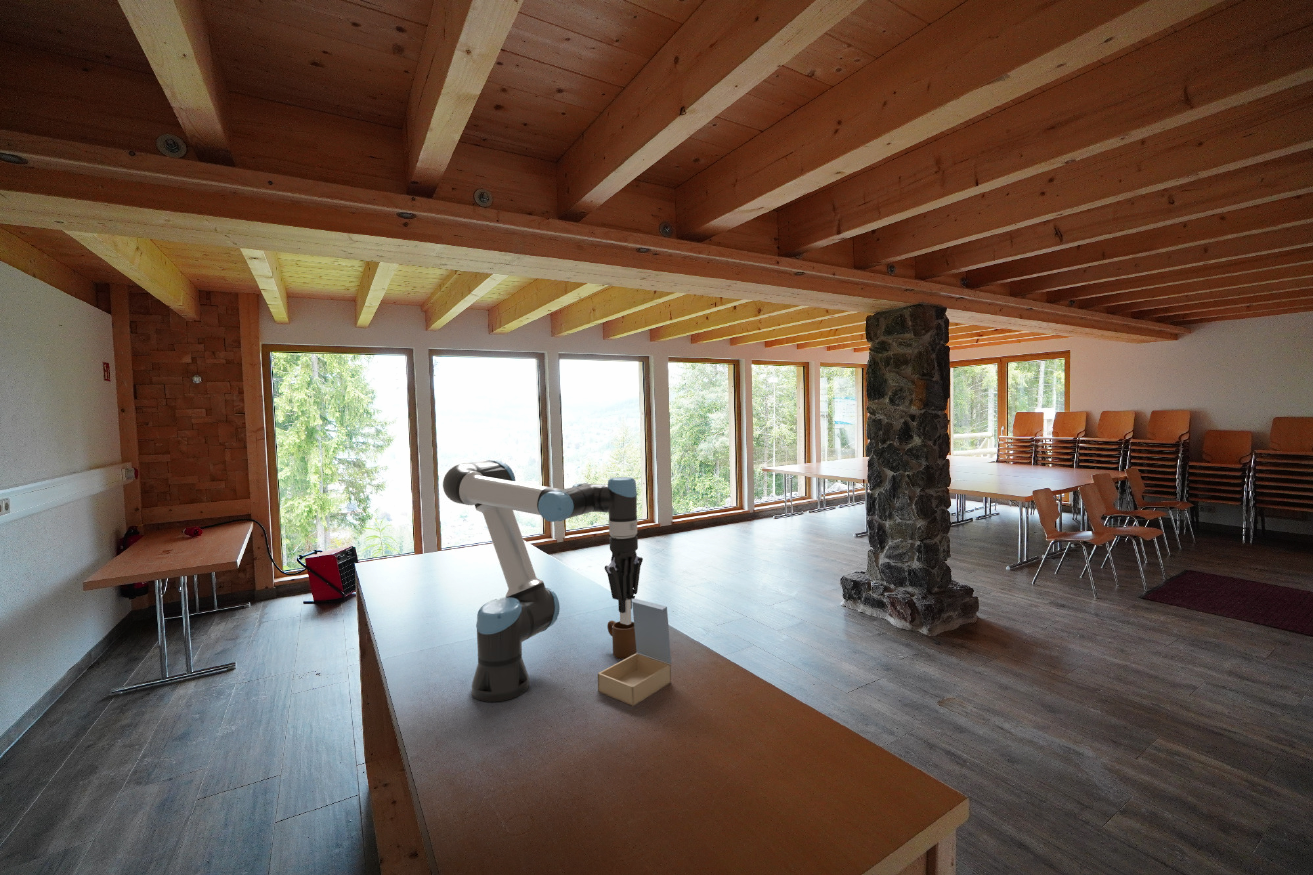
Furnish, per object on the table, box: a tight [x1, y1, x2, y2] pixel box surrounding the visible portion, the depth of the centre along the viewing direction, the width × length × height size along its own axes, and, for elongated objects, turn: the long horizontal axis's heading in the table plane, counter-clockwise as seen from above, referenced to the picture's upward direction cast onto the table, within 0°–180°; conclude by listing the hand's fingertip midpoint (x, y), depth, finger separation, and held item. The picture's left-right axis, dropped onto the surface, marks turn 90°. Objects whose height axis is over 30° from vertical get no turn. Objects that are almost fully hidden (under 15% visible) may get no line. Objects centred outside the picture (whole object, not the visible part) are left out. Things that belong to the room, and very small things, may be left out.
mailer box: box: [597, 653, 672, 707], centre depth 151 cm, size 16×13×5 cm
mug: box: [606, 620, 638, 660], centre depth 173 cm, size 12×8×9 cm, turn 43°
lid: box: [632, 597, 673, 665], centre depth 156 cm, size 17×13×2 cm
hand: (625, 623), depth 147 cm, fingers closed
